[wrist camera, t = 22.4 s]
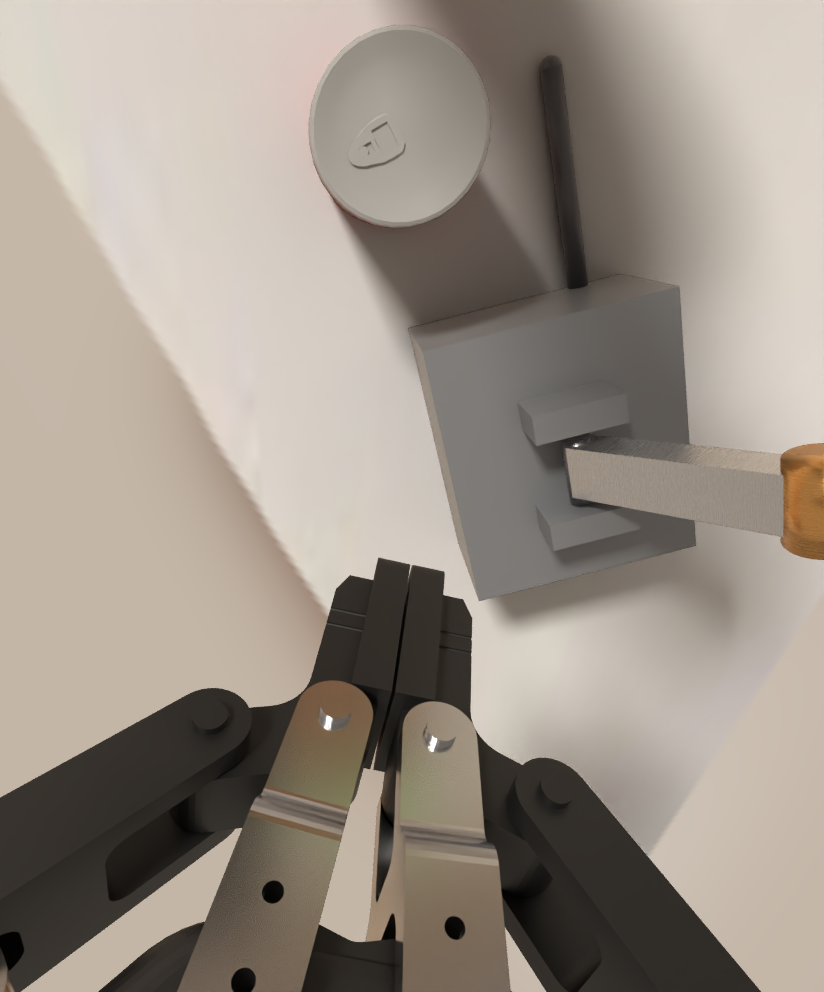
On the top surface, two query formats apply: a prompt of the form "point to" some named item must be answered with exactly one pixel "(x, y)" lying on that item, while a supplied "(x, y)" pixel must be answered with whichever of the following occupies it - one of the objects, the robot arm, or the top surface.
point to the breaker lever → (705, 485)
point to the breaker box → (553, 406)
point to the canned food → (399, 126)
